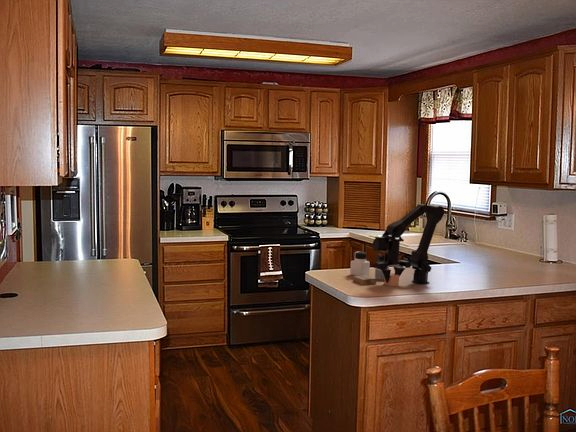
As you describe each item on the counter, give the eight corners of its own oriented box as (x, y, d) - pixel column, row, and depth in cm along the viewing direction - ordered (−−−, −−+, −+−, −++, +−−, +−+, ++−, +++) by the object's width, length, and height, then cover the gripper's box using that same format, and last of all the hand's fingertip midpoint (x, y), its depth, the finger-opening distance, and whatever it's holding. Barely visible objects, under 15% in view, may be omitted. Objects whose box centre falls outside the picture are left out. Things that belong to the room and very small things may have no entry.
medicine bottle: (369, 275, 314) (370, 252, 313) (361, 276, 309) (362, 253, 308) (358, 272, 319) (359, 250, 318) (349, 274, 314) (351, 251, 313)
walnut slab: (366, 281, 301) (366, 275, 301) (376, 284, 295) (376, 278, 294) (352, 282, 297) (353, 276, 297) (362, 285, 291) (363, 279, 290)
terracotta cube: (391, 283, 298) (392, 273, 297) (398, 285, 293) (399, 275, 293) (383, 283, 295) (384, 273, 294) (390, 286, 291) (391, 275, 290)
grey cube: (382, 277, 310) (383, 268, 309) (388, 279, 306) (389, 269, 305) (374, 278, 307) (375, 268, 307) (381, 280, 303) (381, 270, 302)
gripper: (397, 247, 304) (395, 277, 306) (367, 248, 295) (365, 280, 296) (412, 250, 294) (410, 282, 296) (382, 252, 285) (380, 285, 287)
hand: (391, 282), depth 294 cm, fingers closed on terracotta cube, 5 cm apart
